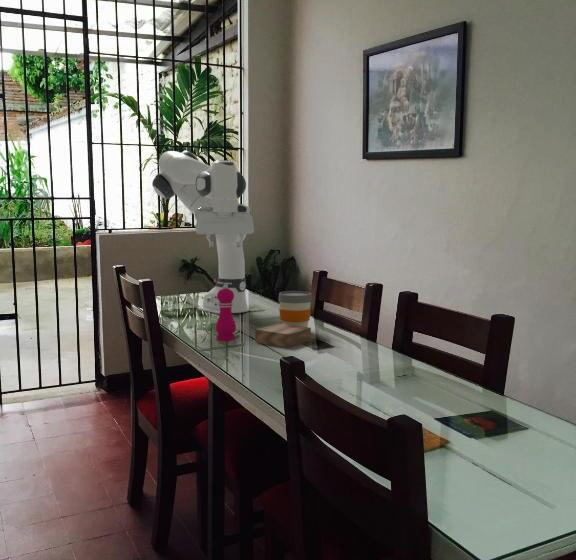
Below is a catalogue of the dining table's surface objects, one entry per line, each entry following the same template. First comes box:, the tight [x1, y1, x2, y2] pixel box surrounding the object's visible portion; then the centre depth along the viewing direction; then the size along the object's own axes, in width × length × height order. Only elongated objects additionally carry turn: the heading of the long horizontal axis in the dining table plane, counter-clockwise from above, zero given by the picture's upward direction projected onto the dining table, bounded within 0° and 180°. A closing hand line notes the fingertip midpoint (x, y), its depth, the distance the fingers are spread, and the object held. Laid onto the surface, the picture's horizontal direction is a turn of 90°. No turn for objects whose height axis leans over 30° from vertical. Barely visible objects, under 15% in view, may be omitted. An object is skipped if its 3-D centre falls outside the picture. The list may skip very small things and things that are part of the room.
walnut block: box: [255, 323, 312, 349], centre depth 229 cm, size 14×14×5 cm
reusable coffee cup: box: [278, 290, 313, 328], centre depth 243 cm, size 13×12×15 cm
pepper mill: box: [215, 284, 237, 342], centre depth 230 cm, size 7×7×20 cm
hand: (225, 247), depth 227 cm, fingers open, 8 cm apart
